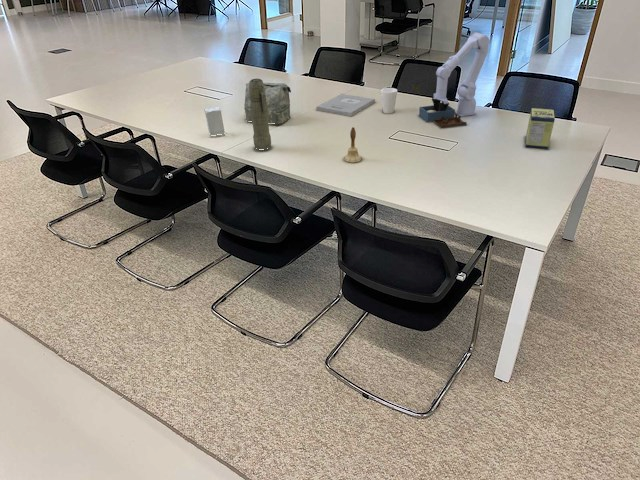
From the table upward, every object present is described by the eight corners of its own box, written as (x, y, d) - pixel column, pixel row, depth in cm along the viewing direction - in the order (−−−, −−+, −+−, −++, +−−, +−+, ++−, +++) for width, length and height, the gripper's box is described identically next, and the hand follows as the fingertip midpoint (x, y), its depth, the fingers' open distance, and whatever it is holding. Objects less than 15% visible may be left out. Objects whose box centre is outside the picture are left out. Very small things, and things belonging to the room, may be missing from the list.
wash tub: (445, 112, 290) (445, 103, 287) (454, 118, 281) (455, 109, 278) (418, 115, 287) (419, 106, 284) (427, 122, 278) (428, 113, 275)
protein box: (546, 138, 252) (553, 108, 244) (548, 149, 240) (555, 119, 231) (525, 136, 255) (531, 107, 247) (525, 147, 243) (531, 117, 234)
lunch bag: (295, 117, 293) (293, 80, 281) (282, 127, 279) (279, 88, 267) (257, 113, 301) (253, 76, 289) (242, 122, 287) (238, 85, 275)
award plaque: (316, 110, 302) (316, 106, 301) (341, 96, 323) (341, 93, 322) (350, 116, 290) (350, 112, 289) (374, 102, 311) (374, 98, 310)
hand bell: (344, 156, 242) (344, 124, 233) (361, 155, 242) (361, 124, 233) (344, 163, 235) (344, 131, 226) (361, 162, 235) (362, 130, 226)
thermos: (264, 153, 248) (256, 84, 229) (249, 148, 255) (241, 80, 236) (277, 148, 253) (271, 79, 234) (262, 143, 260) (255, 75, 241)
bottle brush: (444, 116, 286) (444, 110, 286) (447, 115, 283) (447, 109, 282) (425, 116, 284) (425, 110, 283) (427, 116, 281) (427, 109, 280)
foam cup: (395, 114, 290) (396, 92, 283) (379, 114, 292) (380, 92, 285) (396, 109, 298) (397, 88, 291) (381, 109, 300) (382, 87, 293)
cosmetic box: (223, 132, 275) (219, 106, 267) (225, 135, 271) (221, 109, 263) (208, 134, 273) (204, 108, 265) (210, 138, 268) (205, 111, 260)
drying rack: (458, 119, 279) (459, 111, 277) (466, 125, 272) (467, 117, 269) (434, 122, 277) (435, 114, 274) (441, 128, 269) (442, 120, 267)
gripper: (429, 86, 281) (427, 109, 288) (440, 93, 269) (438, 117, 276) (440, 85, 282) (438, 108, 289) (452, 92, 270) (449, 116, 277)
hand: (439, 112), depth 283 cm, fingers open, 7 cm apart
